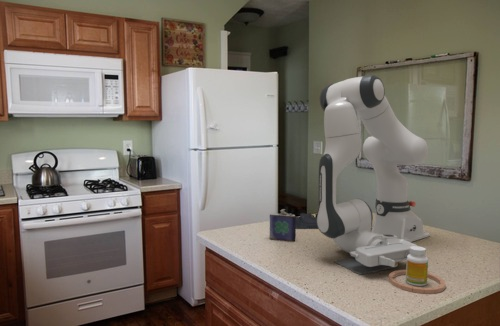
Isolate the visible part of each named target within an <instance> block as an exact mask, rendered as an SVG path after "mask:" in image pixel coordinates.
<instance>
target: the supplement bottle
mask: <svg viewBox="0 0 500 326" xmlns="http://www.w3.org/2000/svg"><path fill="white" fill-rule="evenodd" d="M426 251H427V249H426V248H425V247H423V246H419V245H417V246H411V247H410V253H411V254H409V255H408V256H407V260H406V264H405V266H406V267H405V270H406V275H405V282H406V283H408V285H410V286H413V287H424V286H427V284H428V278H427V273H429V272H428V267H429V258H428V257H427V255H426V254H427V253H426Z"/></svg>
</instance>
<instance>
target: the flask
mask: <svg viewBox="0 0 500 326" xmlns="http://www.w3.org/2000/svg"><path fill="white" fill-rule="evenodd" d="M285 210H286V209H285V208H282V209H281V210H279V211H280V213H270V214H269V240H271V241H279V240H280V242H282V241H283V242H291V243H293V242H296V237H297V236H296V234H297V233H296V230H297V229H296V217H297V216H296V215H295V214H292V213H288V212H286V211H285Z"/></svg>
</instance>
